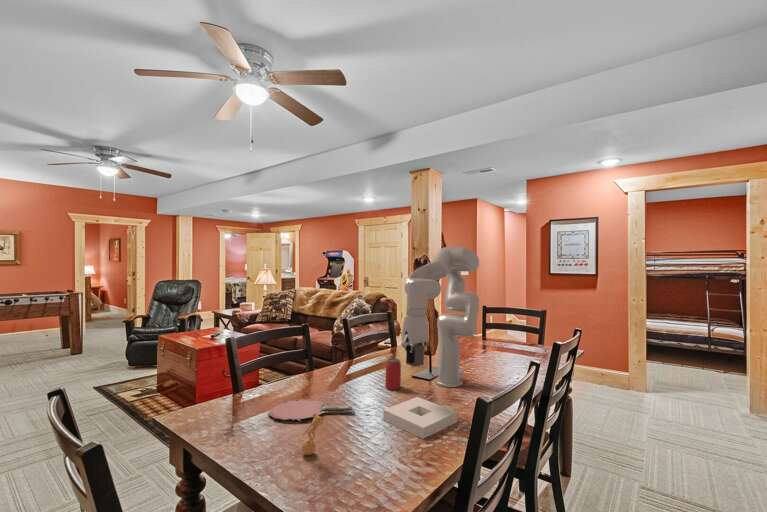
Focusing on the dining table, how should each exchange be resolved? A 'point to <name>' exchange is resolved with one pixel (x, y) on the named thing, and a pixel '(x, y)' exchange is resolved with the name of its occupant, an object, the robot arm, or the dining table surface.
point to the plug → (417, 355)
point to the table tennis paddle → (304, 410)
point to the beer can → (393, 374)
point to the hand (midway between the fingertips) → (414, 361)
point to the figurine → (309, 444)
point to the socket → (420, 417)
